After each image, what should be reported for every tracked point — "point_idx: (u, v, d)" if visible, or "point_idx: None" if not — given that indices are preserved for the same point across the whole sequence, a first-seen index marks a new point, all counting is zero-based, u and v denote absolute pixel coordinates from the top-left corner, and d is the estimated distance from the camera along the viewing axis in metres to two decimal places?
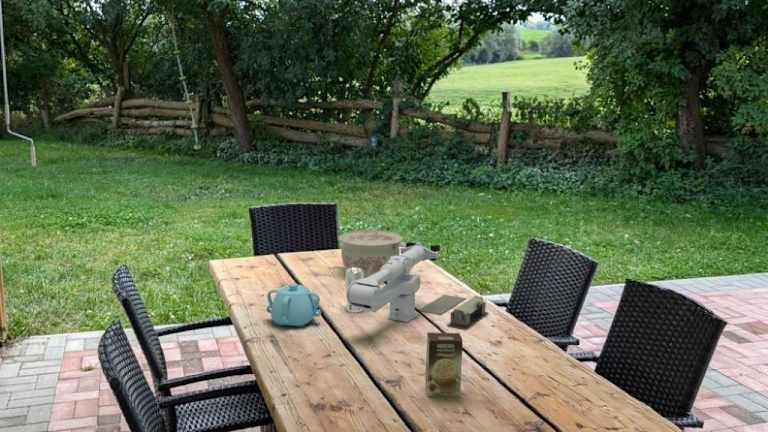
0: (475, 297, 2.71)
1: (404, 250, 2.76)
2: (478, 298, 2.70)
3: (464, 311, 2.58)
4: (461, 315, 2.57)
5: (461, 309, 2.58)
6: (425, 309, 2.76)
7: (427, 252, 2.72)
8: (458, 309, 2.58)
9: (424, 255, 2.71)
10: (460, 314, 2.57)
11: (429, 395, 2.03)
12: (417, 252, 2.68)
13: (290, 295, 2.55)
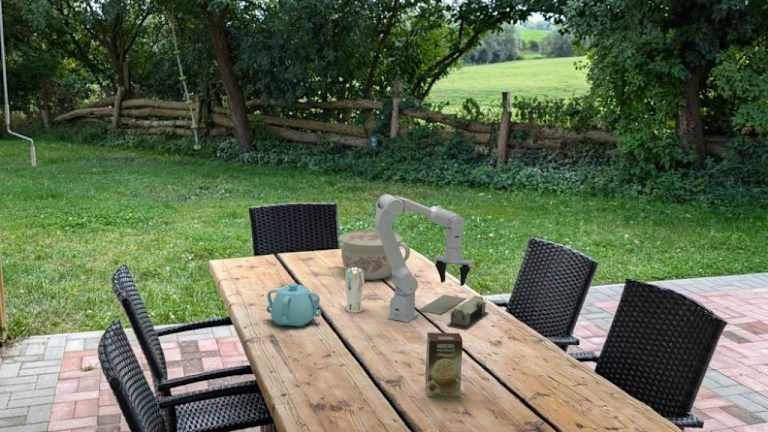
0: (475, 297, 2.71)
1: None
2: (478, 298, 2.70)
3: (464, 311, 2.58)
4: (461, 315, 2.57)
5: (461, 309, 2.58)
6: (425, 309, 2.76)
7: None
8: (458, 309, 2.58)
9: (460, 258, 2.70)
10: (460, 314, 2.57)
11: (429, 395, 2.03)
12: None
13: (290, 295, 2.55)
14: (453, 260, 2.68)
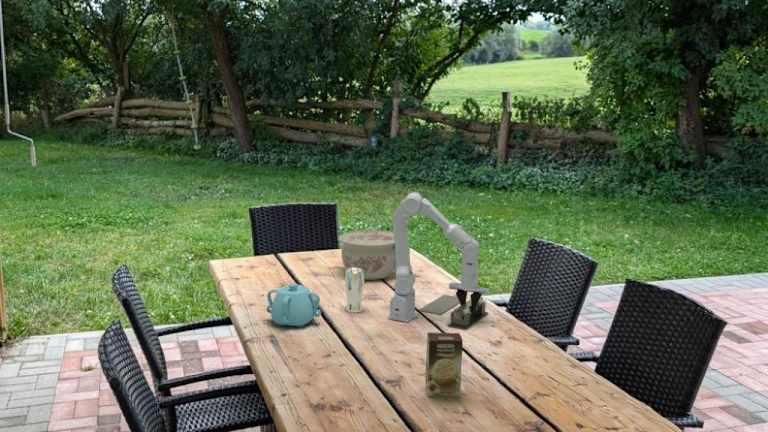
0: None
1: None
2: None
3: (464, 311, 2.58)
4: (461, 315, 2.57)
5: (461, 309, 2.58)
6: (425, 309, 2.76)
7: None
8: (458, 309, 2.58)
9: (476, 285, 2.62)
10: (460, 314, 2.57)
11: (429, 395, 2.03)
12: None
13: (290, 295, 2.55)
14: (469, 288, 2.60)
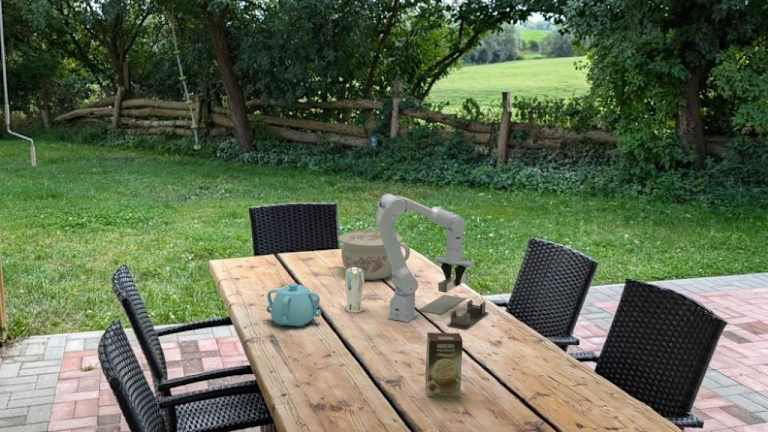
0: None
1: None
2: (463, 273, 2.79)
3: (448, 284, 2.66)
4: (445, 288, 2.65)
5: (445, 282, 2.67)
6: (425, 309, 2.76)
7: None
8: (442, 282, 2.66)
9: (460, 259, 2.70)
10: (444, 287, 2.65)
11: (429, 395, 2.03)
12: None
13: (290, 295, 2.55)
14: (454, 261, 2.69)
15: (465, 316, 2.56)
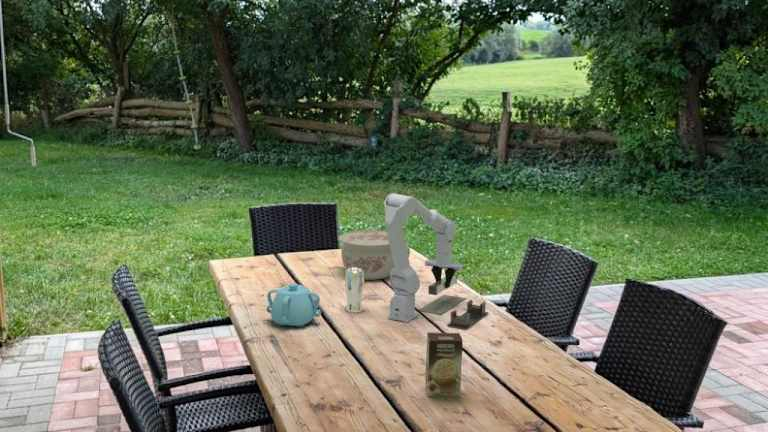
0: None
1: None
2: None
3: (438, 287, 2.74)
4: (435, 291, 2.72)
5: (435, 285, 2.74)
6: (425, 309, 2.76)
7: None
8: (432, 285, 2.74)
9: (450, 262, 2.77)
10: (434, 290, 2.72)
11: (429, 395, 2.03)
12: None
13: (290, 295, 2.55)
14: (443, 264, 2.76)
15: (465, 316, 2.56)
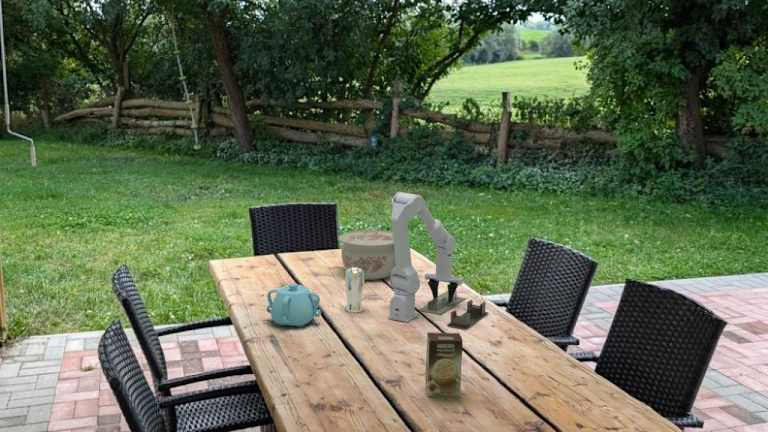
0: None
1: None
2: None
3: (438, 303, 2.75)
4: (435, 307, 2.73)
5: (435, 301, 2.75)
6: (425, 309, 2.76)
7: None
8: (432, 301, 2.75)
9: (450, 276, 2.78)
10: (434, 306, 2.74)
11: (429, 395, 2.03)
12: None
13: (290, 295, 2.55)
14: (443, 278, 2.77)
15: (465, 316, 2.56)
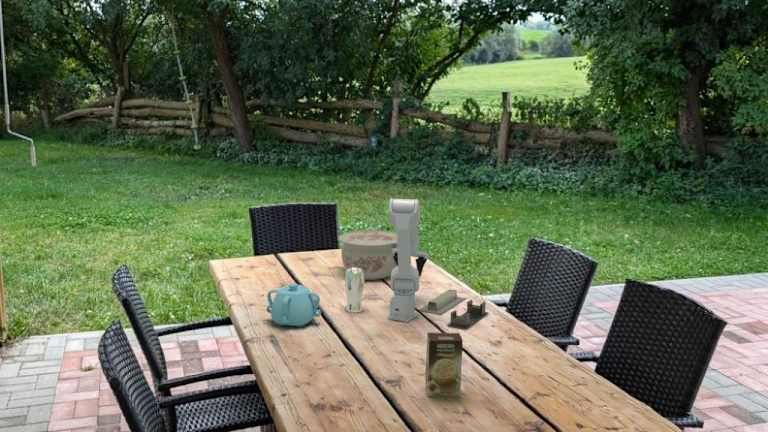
0: (449, 290, 2.88)
1: None
2: (452, 291, 2.87)
3: (438, 303, 2.75)
4: (435, 307, 2.73)
5: (435, 301, 2.75)
6: (425, 309, 2.76)
7: None
8: (432, 301, 2.75)
9: (416, 250, 2.81)
10: (434, 306, 2.74)
11: (429, 395, 2.03)
12: None
13: (290, 295, 2.55)
14: (409, 252, 2.79)
15: (465, 316, 2.56)
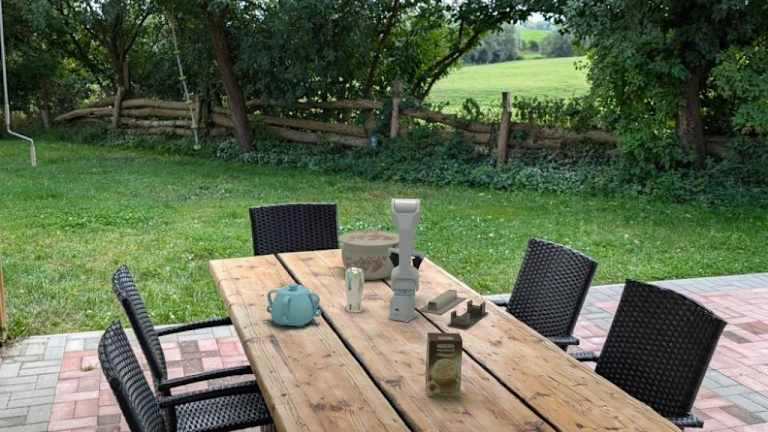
0: (449, 290, 2.88)
1: None
2: (452, 291, 2.87)
3: (438, 303, 2.75)
4: (435, 307, 2.73)
5: (435, 301, 2.75)
6: (425, 309, 2.76)
7: None
8: (432, 301, 2.75)
9: (413, 250, 2.81)
10: (434, 306, 2.74)
11: (429, 395, 2.03)
12: None
13: (290, 295, 2.55)
14: None
15: (465, 316, 2.56)
